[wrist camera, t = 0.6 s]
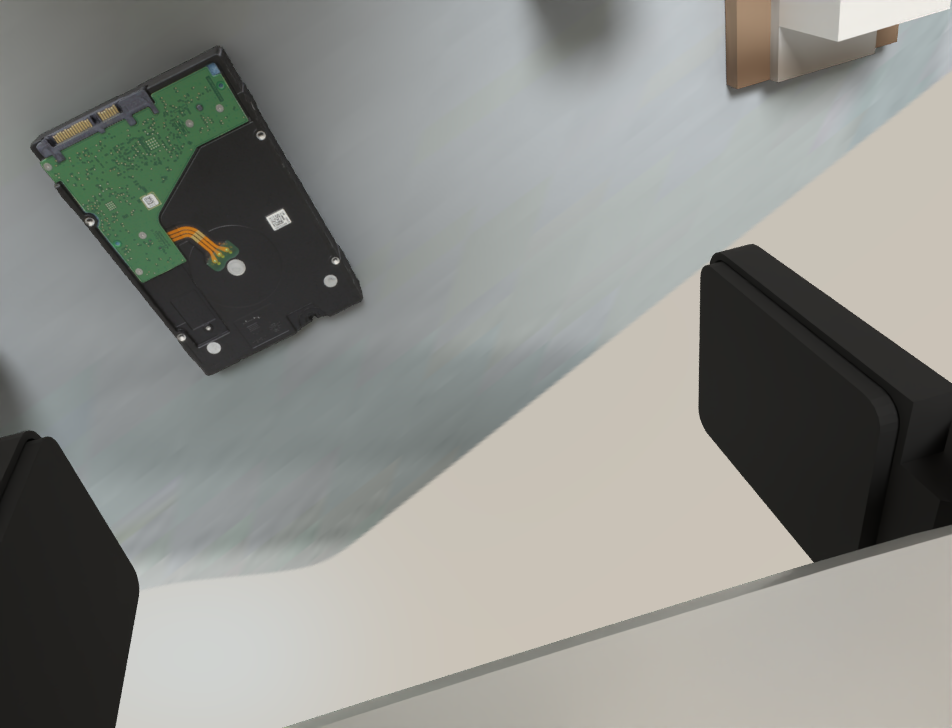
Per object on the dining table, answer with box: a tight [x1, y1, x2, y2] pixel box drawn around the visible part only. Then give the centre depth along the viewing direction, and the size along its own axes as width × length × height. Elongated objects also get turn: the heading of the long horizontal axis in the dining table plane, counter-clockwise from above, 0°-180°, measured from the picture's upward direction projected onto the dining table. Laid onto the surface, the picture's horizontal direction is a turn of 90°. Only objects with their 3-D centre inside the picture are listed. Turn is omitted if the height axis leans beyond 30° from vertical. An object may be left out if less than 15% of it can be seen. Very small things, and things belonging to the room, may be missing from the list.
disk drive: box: [30, 46, 363, 376], centre depth 40 cm, size 10×3×15 cm
